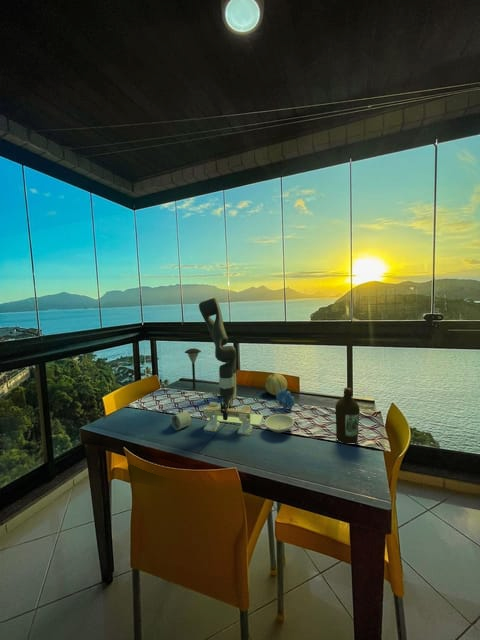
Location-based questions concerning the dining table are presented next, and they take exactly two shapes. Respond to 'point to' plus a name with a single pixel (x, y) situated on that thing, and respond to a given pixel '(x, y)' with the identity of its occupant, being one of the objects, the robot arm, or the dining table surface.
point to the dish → (279, 422)
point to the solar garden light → (193, 361)
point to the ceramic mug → (181, 420)
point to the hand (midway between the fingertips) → (227, 416)
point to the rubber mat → (254, 421)
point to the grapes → (285, 399)
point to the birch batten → (230, 412)
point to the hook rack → (214, 423)
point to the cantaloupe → (275, 383)
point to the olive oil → (347, 418)
